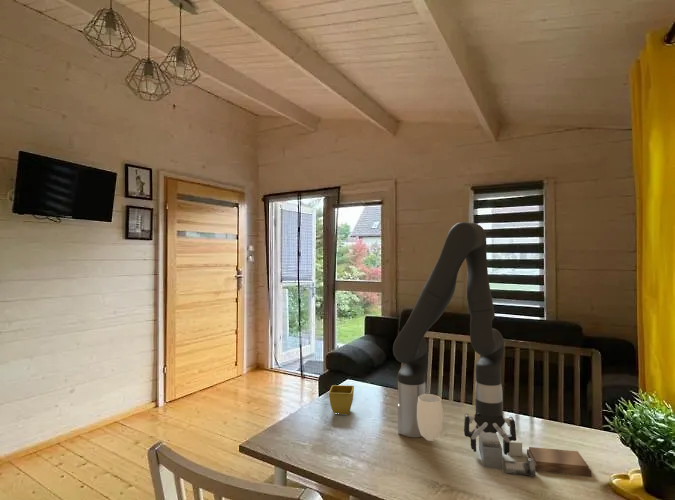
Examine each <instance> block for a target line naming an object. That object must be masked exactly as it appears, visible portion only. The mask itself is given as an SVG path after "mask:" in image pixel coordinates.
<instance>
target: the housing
mask: <svg viewBox="0 0 675 500" xmlns="http://www.w3.org/2000/svg"><path fill="white" fill-rule="evenodd" d="M497 433H498V432H496V433H491V432H488V433H485V432H484V431H482V432H481V433H480V434H479V435H478V452H479V455H480V459H481V463H482V467H483V468H484V469H497V470H503V469H504V468H503V447H502V445H501V442H500V439H499V436H498V434H497Z"/></svg>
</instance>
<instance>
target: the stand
mask: <svg viewBox="0 0 675 500" xmlns="http://www.w3.org/2000/svg"><path fill="white" fill-rule="evenodd" d="M526 455H527V458H533V460H534V463H535V469H536V472H541V473H551V474H559V475H570V476H579V477H580V476H581V477H590V478H591V477H593V475H592V474H593V473H592V472H593V471H592V470H591V468H590V466H589V465H588V464H587V461H585V459H584V457H583V456H582V455H581V453H580V452H579V451H578V450H569V449H556V448H546V447H532V446H529V447H528V449H526Z"/></svg>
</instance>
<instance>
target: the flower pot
mask: <svg viewBox="0 0 675 500" xmlns="http://www.w3.org/2000/svg"><path fill="white" fill-rule="evenodd" d="M354 391H355V386H354V385H345V384H344V385H340V384H339V385H335V384H333V385H331V386H330V389H329V391H328V395H329V396H328V397H329V403H330V408H331V410H332V412H333V413H337V414H336V415H339V414H348V415H349V413H350V412H351V409H352V405H353V400H354ZM338 413H339V414H338Z"/></svg>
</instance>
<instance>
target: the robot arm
mask: <svg viewBox="0 0 675 500" xmlns="http://www.w3.org/2000/svg"><path fill="white" fill-rule="evenodd" d="M486 234H487V233H486V231H485V229H484V228H483V226H481V225H480V224H478V223H474V222H466V221H462V222H457V223H455V224H454V225H453V226H451V228H450V229H449V231H448V234H447V236H446V238H445V241H444V243H443V246H442V249H441V252H440V254H439V257H438V259H437V261H436V263H435V265H434V267H433V269H432V270H431V272H430V274H429V276H428V279H427V280H426V281H425V284H424V286H423V288H422V290H421V291H420V294H419V296H418V298H417V300H416V303H415V304H414V307H413V309H412V310H411V313H410V315H409V317H408V319H407V320H406V323H405V324H404V326H403V327H402V329H401V330H400V332H399V333H398V335H397V336H396V338H395V340H394V342H393V344H392V345H393V346H392V354H393V356H394V358H395V360H396V361H398V363H401V364H402V365H401V367H400V368H399V371H398V373H397V399H398V400H397V402H398V403H397V434H399V435H402V436H404V437H409V438H420V437H423V436H422V435H421V434H420V431H419V428H418V422H417V403H418V397H419V396H420V395H423V394H427V393H426V376H427V373H428V364H429V363H428V362H429V351H428V350H429V349H428V343H427V339H426V338H425V335H426V334H427V332H428V331H429V329H431V328H432V326H433V325H434V324H436V322H437V321H438V320H439V319H440V318H441V316H442V315H443V314H444V313H445V311H446V309H447V308H448V305H449V304H450V302H451V300H452V298H453V297H454V295H455V291H456V286H457V278H458V274H459V271H460V268H461V266H462V265H463V263H464V261H465V262H466V267H467V271H466V272H467V274H466V276H467V278H466V279H467V280H466V301H467V306H468V311H469V316H470V321H469V338H470V344H471V346H472V348H473V350H474V351H475V353H477V354H478V355H479V360H478V361H477V362H476V364H475V384H474V385H475V386H474V396H475V397H474V398H475V399H474V401H475V414H474V415H471V414H470V415H469V414H468V413H465V414H464V420H463V421H464V422H463V423H464V424H463V432H464V436H465V437H467V438H469V439H470V448H471V450H473V452H475V453H476V452H477V437H479V434H480V433H481V432H482V431H484V432H485V433H488V432H491V433H498V434H499V435H500V436H501V438H502V444H503V445H502V446H503V447H502V452H503V454H504V455H506V456H508V454H507V453H509V451H510V449H509V442H510V441H516V436H517V430H516V421H515V420H514V417H512V416H509V417H507V418H506V417H504V412H503V411H504V409H503V407H504V405H503V401H504V400H503V387H502V371H501V368H502V363H503V355H504V349H505V342H504V337H503V335H502V333H501V331H499V330H498V329H496V328H494V327H493V320H494V319H495V317H496V314H495V312H496V311H495V307H494V302H493V296H492V293H491V291H492V290H491V286H490V280H489V270H488V261H487V259H488V257H487V235H486ZM473 421H474V422H475V423H476V424H475V426H474V428H473V429H472V430H471V431H470V424H472V423H473ZM505 424H506V425H507V427H509V434H508V433H506V432H505V430H504V429H503V426H504V425H505Z"/></svg>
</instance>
